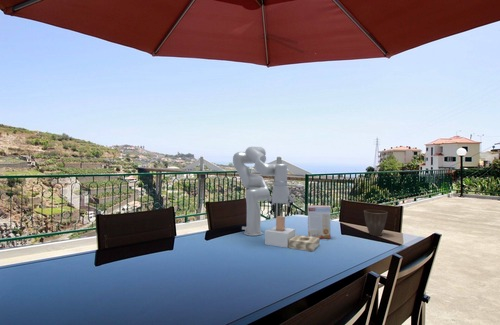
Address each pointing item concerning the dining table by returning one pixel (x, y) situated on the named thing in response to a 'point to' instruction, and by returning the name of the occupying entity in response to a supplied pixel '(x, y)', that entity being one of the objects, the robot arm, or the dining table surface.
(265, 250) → the dining table surface
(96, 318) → the dining table surface
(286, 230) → the upper socket
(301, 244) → the lower socket
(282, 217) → the plug
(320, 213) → the cracker box
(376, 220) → the plant pot
